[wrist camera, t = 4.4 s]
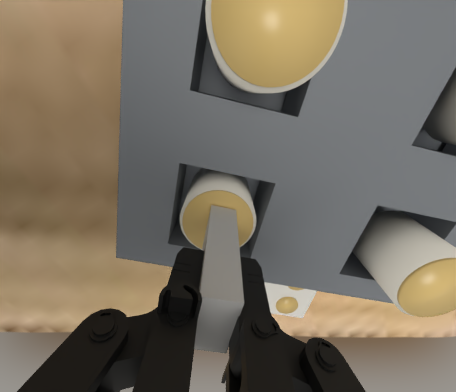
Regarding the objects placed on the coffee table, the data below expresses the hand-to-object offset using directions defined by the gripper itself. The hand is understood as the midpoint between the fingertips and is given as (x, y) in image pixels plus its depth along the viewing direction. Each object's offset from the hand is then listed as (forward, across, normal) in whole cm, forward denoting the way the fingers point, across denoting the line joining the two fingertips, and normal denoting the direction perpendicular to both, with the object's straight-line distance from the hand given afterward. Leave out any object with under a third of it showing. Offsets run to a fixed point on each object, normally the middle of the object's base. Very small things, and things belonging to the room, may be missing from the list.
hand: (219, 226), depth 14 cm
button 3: (+3, +13, 0) cm, 13 cm away
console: (+6, +6, +5) cm, 10 cm away
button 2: (+3, 0, +10) cm, 10 cm away
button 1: (+5, 0, 0) cm, 5 cm away
